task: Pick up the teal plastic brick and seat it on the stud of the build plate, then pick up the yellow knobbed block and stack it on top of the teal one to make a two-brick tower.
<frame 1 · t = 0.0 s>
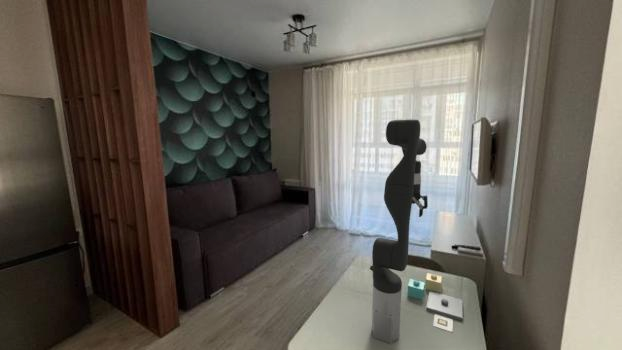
hand: (410, 215, 122), 29 cm above the table, fingers open, 8 cm apart
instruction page: (443, 322, 91), on the table
yellow knobbed block: (433, 287, 113), on the table
teal brick: (416, 293, 108), on the table
build plate: (444, 306, 100), on the table
phone: (384, 274, 125), on the table
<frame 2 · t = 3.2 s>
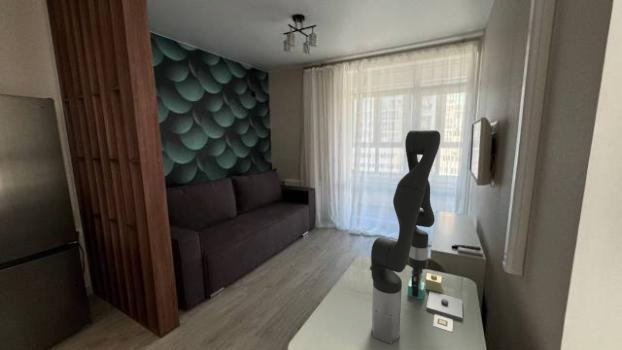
hand: (416, 292, 108), 1 cm above the table, fingers closed on teal brick, 6 cm apart
teal brick: (416, 293, 108), on the table, touching gripper
everything else where it was.
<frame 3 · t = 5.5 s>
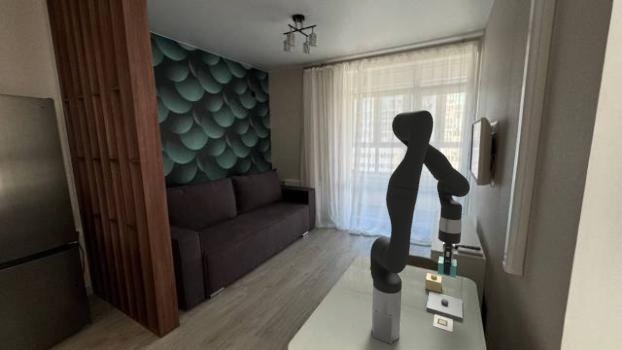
hand: (446, 270, 98), 15 cm above the table, fingers closed on teal brick, 6 cm apart
teal brick: (446, 272, 98), point 14 cm above the table, touching gripper
everything else where it was.
when the fingers open (3 cm above the table, at t = 8.2 s): teal brick stays where it is, resting on build plate.
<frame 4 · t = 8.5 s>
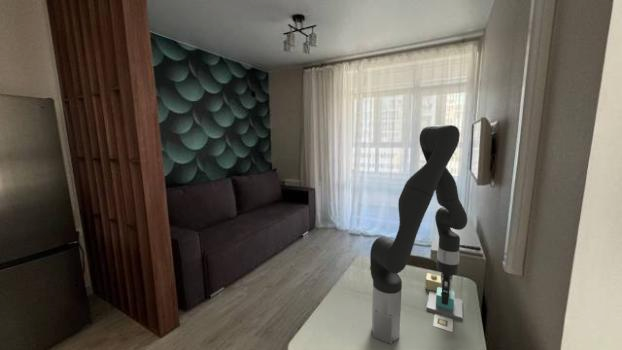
hand: (445, 297, 100), 4 cm above the table, fingers open, 8 cm apart
teal brick: (444, 303, 100), point 1 cm above the table, touching build plate
everything else where it was.
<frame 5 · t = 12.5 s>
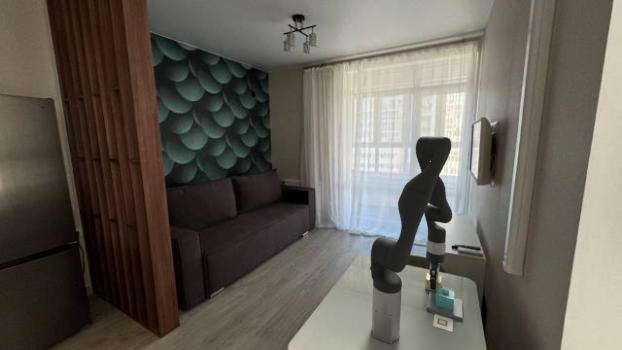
hand: (433, 285, 113), 1 cm above the table, fingers closed on yellow knobbed block, 6 cm apart
yellow knobbed block: (433, 287, 113), on the table, touching gripper
everything else where it was.
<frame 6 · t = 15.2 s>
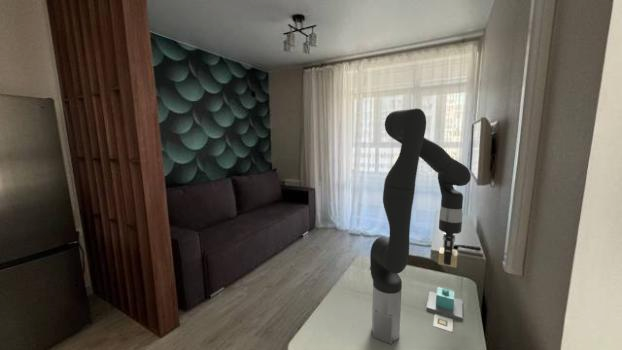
hand: (447, 260, 97), 19 cm above the table, fingers closed on yellow knobbed block, 6 cm apart
yellow knobbed block: (447, 262, 97), point 18 cm above the table, touching gripper
everything else where it was.
when the fingers open (8 cm above the table, at t = 17.9 s): yellow knobbed block drops 1 cm, resting on teal brick.
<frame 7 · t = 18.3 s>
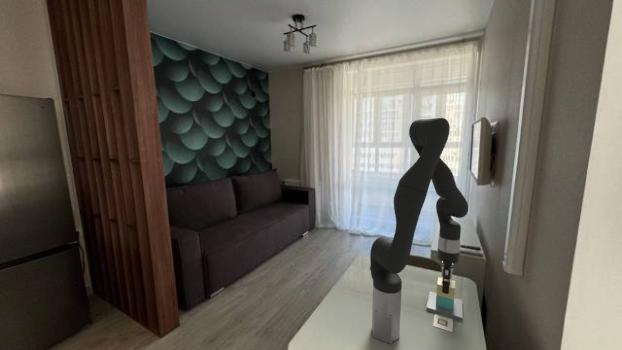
hand: (445, 287, 99), 8 cm above the table, fingers open, 8 cm apart
yellow knobbed block: (445, 293, 99), point 6 cm above the table, touching teal brick
teal brick: (444, 303, 100), point 1 cm above the table, touching build plate, yellow knobbed block
everything else where it was.
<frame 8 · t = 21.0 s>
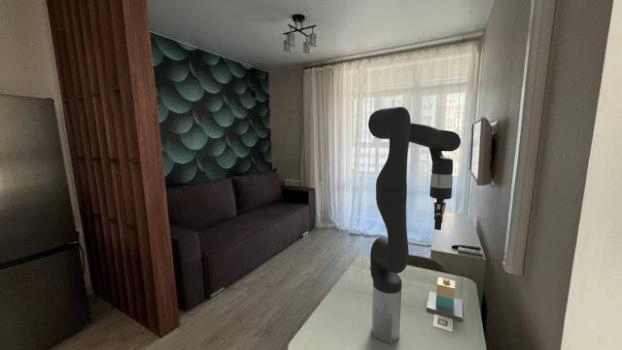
hand: (438, 226, 98), 32 cm above the table, fingers open, 8 cm apart
nothing on the table moved.
at the end: teal brick 0.1 cm off-centre on the build plate, point 1.2 cm above the build plate's base; yellow knobbed block 0.0 cm off-centre on the teal brick, point 4.5 cm above the teal brick's base; yellow knobbed block tilted 0° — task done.
